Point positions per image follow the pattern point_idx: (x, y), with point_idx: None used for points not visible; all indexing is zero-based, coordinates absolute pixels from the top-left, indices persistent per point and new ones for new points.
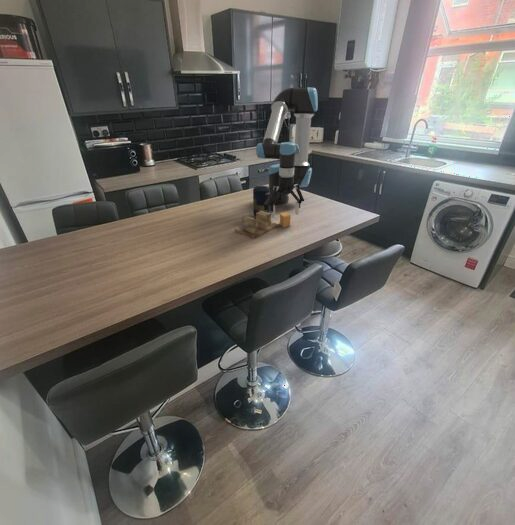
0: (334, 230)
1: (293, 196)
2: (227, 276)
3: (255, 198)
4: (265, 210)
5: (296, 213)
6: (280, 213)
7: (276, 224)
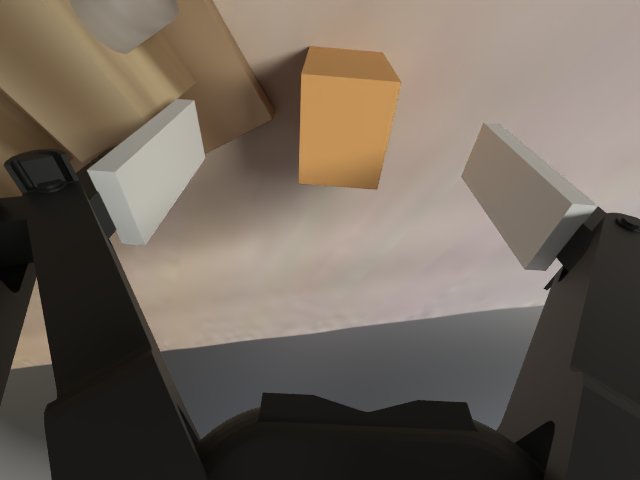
0: (545, 289)
1: (570, 311)
2: (24, 366)
3: None
4: None
5: (471, 166)
6: (303, 81)
7: (249, 111)
